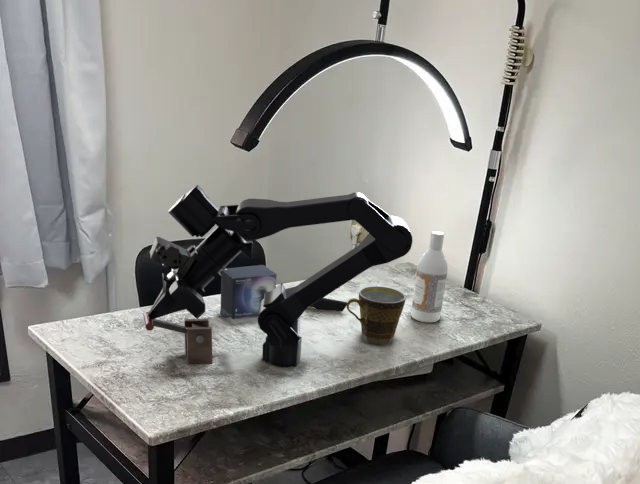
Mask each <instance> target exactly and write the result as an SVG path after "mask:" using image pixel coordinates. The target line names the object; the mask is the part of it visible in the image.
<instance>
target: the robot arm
mask: <svg viewBox="0 0 640 484" xmlns="http://www.w3.org/2000/svg"><path fill="white" fill-rule="evenodd" d="M167 213H168V214H170V216H171V217H172V218H173V219H174V220H175V221H176V222H177V223H178V225H180V226H181V227H182V228H183V229H184V230H185V231H186V232H187V233H188V234H189V235H190V236H191V237H196V238H199V237H200V238H203V237H204V236H206V235H207V234H208V233H209V232H210V231H211V230H212V229H213V228H214V227H215V226H216V228H215V229H214V230H213V231H212V232H211V233H210V234H209V235H207V237H206V238H205V239H203V240H202V241H201V242H200V243H199V244H198V245H197V246H196V245H194V244H193V245H190V246H189V247H188V248H187V249H186V248H184V247H182V246H180V245H178V244H176V243H174V242H173V241H172V242H171V241H169V240H168V239H165V238H163V237H161V236H155V239H154V241H153V243H152V245H151V249H150V250H149V253H148V254H149V255H150V259H151V261H153V262H154V263H157V264H161V265H162V267H164V268H168V269H169V270H170V272H169V273H167V274H165V272H163V273H162V275H161V277H162V288H161V289H160V292H159V293H158V296H157V297H156V299H155V301H154V302H153V304H152V306H151V308H150V309H149V310H148V312H149V313H148V316H149V317H150V318H151V319H158V318H162V317H164V316H168V315H170V314H175V313H178V312H181V311H185V310H186V311H187V312H188V313H190V314H191V315H192V316H193V317H194V319H200V318H201V316H203V315H204V314H205V312H206V303H205V299H204V297H203V295H204V294H205V292H206V291H205V288H206V287H207V286H208V285H209V284H210V283H211V282H212V281H213V280H214V279H216V280H217V281H218V280H220V279H221V271H222V270H223V269H225V268H227V266H228V265H229V264H231V263H232V261H234V260H235V259H236V257H238V256H239V255H240V254H241V253H243V254H244V256H245V257H246V258H247V259H249V260H252V259H253V247H254V243H253V242H254V241H257V240H260V239H264V238H267V237H271V236H274V235H276V234H277V233H280V232H282V231H285V230H287V229H291V228H299V227H300V228H301V227H309V226H314V225H323V224H331V223H339V222H347V221H355V222H356V223H357V224H359V225H360V227H362V228H363V230H365V231H367V234H366V235H365V237H364V238H363V239H362V240H361V242H359V244H358V245H357V246H355V247H354V248H352V249H351V250H349V251H348V252H346V253H344V254H343V255H341V256H340V257H339V258H337V259H335V260H334V261H332V262H331V263H329V264H328V265H326V266H325V267H323V268H322V269H320V270H319V271H317V272H315V273H314V274H312V275H311V276H310V277H307V278H306V279H305V280H303V281H302V282H300V283H299V284H297V285H295V286H292V287H287V288H286V287H285V285H284V283H283V282H281V283H279V284H278V285H276V288H275V289H274V290H272V291H270V292H266V293H265V294H264V299H263V300H262V301H261V303H260V307H259V314H258V317H257V325H258V328H259V329H260V330H261V331H262V332H263V333H264V334H265V335H266V336H265V341H264V342H263V344H262V352H261V353H262V355H261V361H263V362H265V363H268V364H269V365H271V366H274V367H277V368H291V367H292V368H297V367H298V365H299V364H300V362H301V354H302V336H301V332H300V331H301V329H300V327H301V321H300V318H301V316H302V315H303V314H304V313H305V311H306V310H307V309H309V308H311V307H310V306H311V305H313V304H314V303H316V302H317V301H319V300H320V299H322V298H326V297H327V296H329V295H330V294H331V293H333V292H334V291H336V290H338V289H339V288H341V287H342V286H343V285H346V284H347V283H349V282H350V281H351V280H353V279H355V278H356V277H357V276H358V277H359V275H360V274H362V273H364V272H365V271H367V270H368V269H370V268H372V267H377V266H379V265H385V264H388V263H391V262H393V261H395V260H398V259H400V258H403V257H405V256H406V255H407V254H408V253H409V252H410V251H411V249H412V247H413V235H412V233H411V231H410V229H409V227H408V224H407V222H406V221H405V220H404V219H403V218H401V217H399V216H395V215H390V214H388V213H387V212H386V211H385V210H384V209H382V208H381V207H379V206H378V205H376V203H374V202H372V201H371V200H370V199H368V198H367V196H366V195H365V194H364V193H362V192H359V191H357V192H356V191H354V192H351V193H349V194H342V195H341V194H340V195H334V196H333V195H332V196H325V197H318V198H309V199H302V200H293V201H278V200H274V199H267V198H266V199H265V198H246V199H244V200H242V201H241V202H240V203H239V204H229V205H219V207H218V206H217V204H215V203H214V202H213V201H212V200H211V198H209V196H208V195H207V194H206V193H205V191H204V190H203V188H201V186H200V185H198V184H196V185H195V186H194V187H193V188H191V189H189V191H188V192H186V194H185V193H184V194H182V196H181V197H179V199H177V201H176V202H175V203H174V204H173V205H172V206H171V207H170V208H169V209H168V211H167Z"/></svg>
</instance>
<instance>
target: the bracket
mask: <svg viewBox="0 0 640 484" xmlns="http://www.w3.org/2000/svg"><path fill="white" fill-rule="evenodd" d="M191 323H193V324H197V325H201V326H205V327H191ZM209 323H210V320H209V318H198V319H197V318H184V319H183V326H186V327H190V328H187V334H185V333H183V334H184V355H185V357H186V358H187V365H188V366H192V365H212V364H213V329H212V326H210V324H209Z"/></svg>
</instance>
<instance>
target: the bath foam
mask: <svg viewBox="0 0 640 484" xmlns="http://www.w3.org/2000/svg"><path fill="white" fill-rule="evenodd" d="M444 238H445V233H444V232H442V231H438V230H433V231H431V232H430V238H429V246H428V248H427V250H425V252H424V253H423V254H422V256H421V257H420V259H419V261H418V263H417V267H416V275H415V282H414V288H413V297H412V303H411V309H410V310H411V312H410V316H411V317H412V319H414V320H416V321H418V322H421V323H435V322H438V321H439V320H440V319H441V314H442V309H443V302H444V297H445V296H444V295H445V290H446V284H447V278H448V270H449V269H448V262H447V261H448V260H447V258H446V256H445V253H444V251H443V246H444V245H443V244H444V240H445V239H444Z"/></svg>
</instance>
